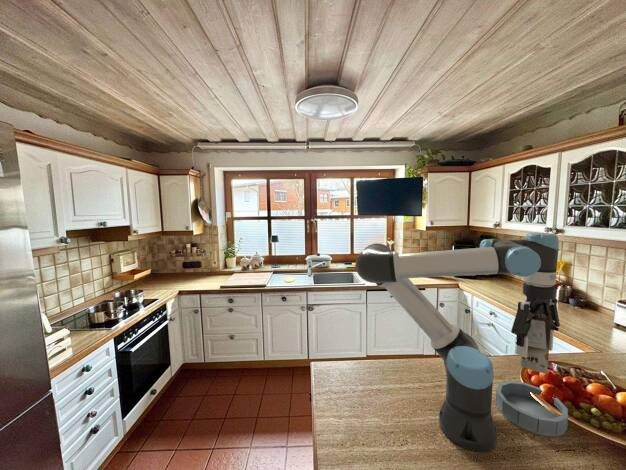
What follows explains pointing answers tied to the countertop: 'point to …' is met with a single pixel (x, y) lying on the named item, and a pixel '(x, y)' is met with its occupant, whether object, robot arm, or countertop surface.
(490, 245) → the robot arm
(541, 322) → the coffee box
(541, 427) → the bowl
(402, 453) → the countertop surface
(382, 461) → the countertop surface
